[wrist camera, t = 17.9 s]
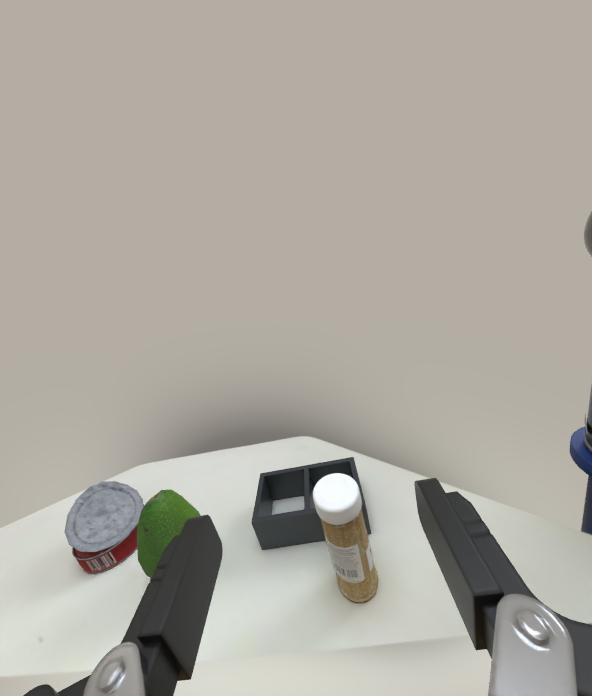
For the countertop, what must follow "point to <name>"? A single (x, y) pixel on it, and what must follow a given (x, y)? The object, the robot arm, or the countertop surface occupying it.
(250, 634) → the countertop surface
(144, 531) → the avocado
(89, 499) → the canned food
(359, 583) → the sprinkles bottle
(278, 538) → the divided storage box
